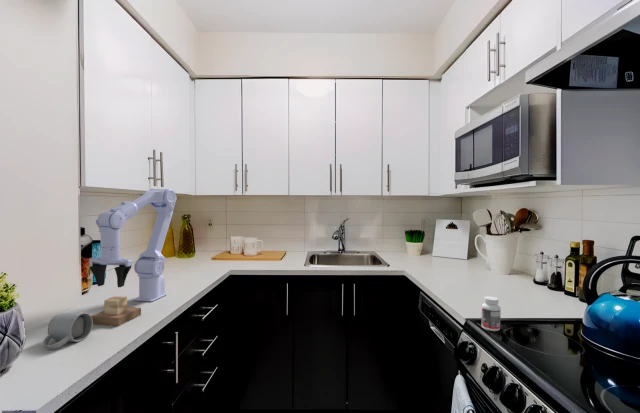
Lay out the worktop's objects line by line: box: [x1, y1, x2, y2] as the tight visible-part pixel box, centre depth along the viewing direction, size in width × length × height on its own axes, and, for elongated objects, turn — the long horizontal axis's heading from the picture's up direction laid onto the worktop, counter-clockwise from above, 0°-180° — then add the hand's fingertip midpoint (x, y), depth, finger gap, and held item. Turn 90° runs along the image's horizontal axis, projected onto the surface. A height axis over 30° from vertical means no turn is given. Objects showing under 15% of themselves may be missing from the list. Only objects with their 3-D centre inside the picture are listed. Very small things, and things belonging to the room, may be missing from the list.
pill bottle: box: [480, 295, 502, 332], centre depth 107 cm, size 5×5×10 cm
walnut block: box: [91, 306, 142, 327], centre depth 110 cm, size 10×10×3 cm
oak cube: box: [103, 295, 128, 315], centre depth 109 cm, size 4×4×4 cm
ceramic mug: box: [42, 312, 94, 350], centre depth 93 cm, size 11×8×8 cm
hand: (110, 286), depth 115 cm, fingers open, 7 cm apart
